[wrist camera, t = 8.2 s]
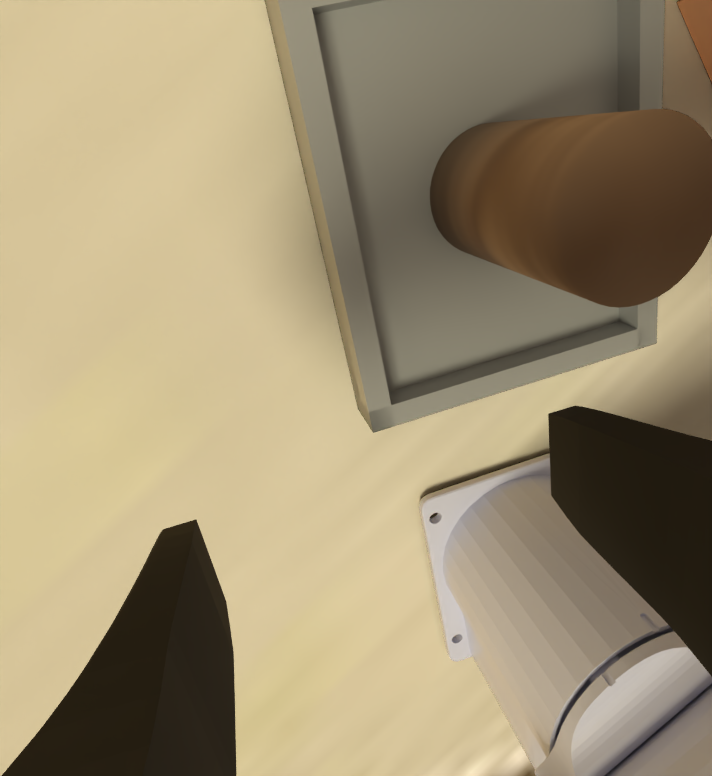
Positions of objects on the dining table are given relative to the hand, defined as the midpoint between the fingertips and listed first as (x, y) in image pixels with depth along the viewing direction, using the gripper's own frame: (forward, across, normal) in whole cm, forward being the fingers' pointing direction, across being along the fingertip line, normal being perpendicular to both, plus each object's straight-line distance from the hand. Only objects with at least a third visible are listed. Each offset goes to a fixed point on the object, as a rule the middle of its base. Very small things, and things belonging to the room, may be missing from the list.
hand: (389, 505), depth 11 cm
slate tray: (+10, -7, -4) cm, 12 cm away
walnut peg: (+9, -7, -4) cm, 12 cm away
